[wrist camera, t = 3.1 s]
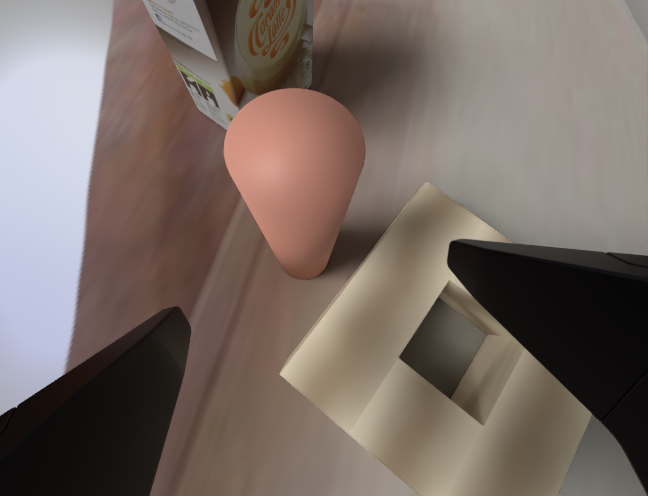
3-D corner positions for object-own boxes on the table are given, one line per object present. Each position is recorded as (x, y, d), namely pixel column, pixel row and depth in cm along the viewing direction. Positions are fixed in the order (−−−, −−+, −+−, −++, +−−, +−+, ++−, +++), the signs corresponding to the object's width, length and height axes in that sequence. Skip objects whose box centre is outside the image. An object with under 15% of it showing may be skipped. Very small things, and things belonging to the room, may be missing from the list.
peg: (338, 251, 21) (392, 139, 8) (307, 290, 20) (305, 241, 7) (300, 221, 22) (287, 66, 8) (268, 258, 21) (193, 152, 7)
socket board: (570, 323, 21) (630, 325, 17) (472, 522, 17) (520, 583, 13) (406, 204, 23) (426, 181, 19) (285, 361, 19) (279, 374, 15)
